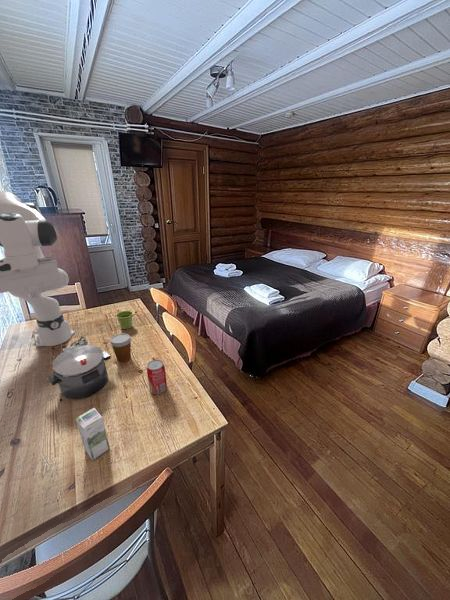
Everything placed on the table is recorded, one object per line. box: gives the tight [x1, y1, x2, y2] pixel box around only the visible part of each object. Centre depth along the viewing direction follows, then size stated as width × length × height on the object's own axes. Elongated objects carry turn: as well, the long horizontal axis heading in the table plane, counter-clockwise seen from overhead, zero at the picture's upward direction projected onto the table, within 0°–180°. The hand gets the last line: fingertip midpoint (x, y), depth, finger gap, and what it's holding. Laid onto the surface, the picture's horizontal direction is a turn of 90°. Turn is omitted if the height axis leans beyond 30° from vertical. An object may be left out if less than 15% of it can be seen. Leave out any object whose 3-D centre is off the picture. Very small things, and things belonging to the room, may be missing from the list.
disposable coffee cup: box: [109, 333, 132, 364], centre depth 124 cm, size 10×10×12 cm
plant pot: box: [115, 310, 134, 330], centre depth 153 cm, size 9×9×9 cm
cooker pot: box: [46, 350, 111, 401], centre depth 107 cm, size 19×23×11 cm
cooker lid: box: [52, 344, 104, 377], centre depth 105 cm, size 20×18×4 cm
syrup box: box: [75, 407, 111, 461], centre depth 80 cm, size 6×6×14 cm
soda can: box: [146, 359, 168, 395], centre depth 105 cm, size 7×7×13 cm
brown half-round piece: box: [68, 335, 89, 347], centre depth 123 cm, size 12×6×10 cm, turn 168°
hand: (34, 296), depth 97 cm, fingers closed
